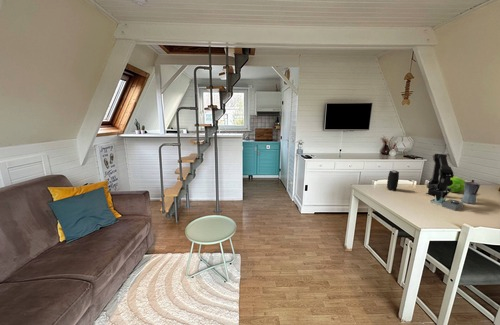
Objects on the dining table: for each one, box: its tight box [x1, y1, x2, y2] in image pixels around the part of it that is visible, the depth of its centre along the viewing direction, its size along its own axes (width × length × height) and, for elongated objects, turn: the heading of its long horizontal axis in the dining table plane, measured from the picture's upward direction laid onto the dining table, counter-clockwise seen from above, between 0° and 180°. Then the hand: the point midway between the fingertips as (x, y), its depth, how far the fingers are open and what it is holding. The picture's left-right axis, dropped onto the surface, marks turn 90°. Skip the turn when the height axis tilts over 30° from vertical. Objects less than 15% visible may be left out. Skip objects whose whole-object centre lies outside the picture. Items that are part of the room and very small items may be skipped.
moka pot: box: [460, 179, 481, 205], centre depth 172 cm, size 10×15×20 cm, turn 161°
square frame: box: [429, 198, 464, 211], centre depth 168 cm, size 12×17×6 cm
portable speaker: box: [386, 170, 400, 191], centre depth 205 cm, size 9×9×20 cm
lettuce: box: [447, 176, 466, 193], centre depth 201 cm, size 17×20×15 cm
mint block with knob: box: [434, 197, 447, 203], centre depth 172 cm, size 5×5×6 cm
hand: (439, 200), depth 172 cm, fingers open, 7 cm apart
